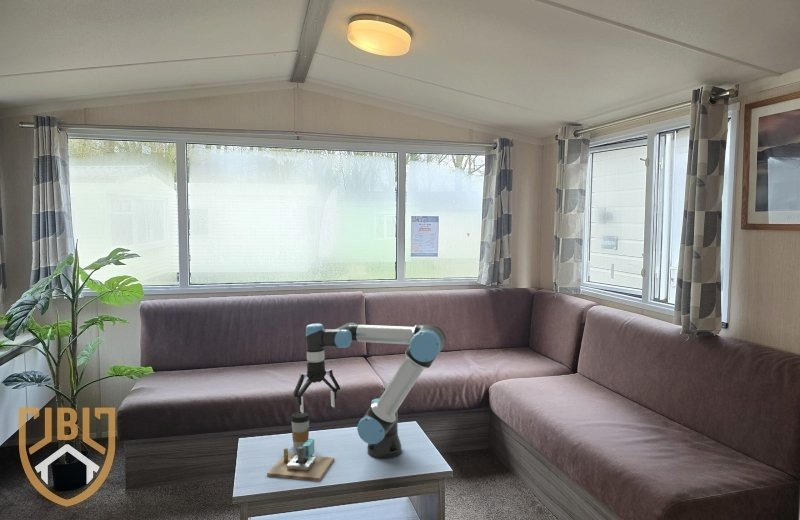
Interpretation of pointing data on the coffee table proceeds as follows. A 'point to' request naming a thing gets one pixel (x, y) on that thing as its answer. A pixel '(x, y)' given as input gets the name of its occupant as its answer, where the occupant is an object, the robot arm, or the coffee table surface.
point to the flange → (308, 459)
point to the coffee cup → (300, 428)
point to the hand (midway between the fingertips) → (317, 409)
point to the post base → (312, 474)
